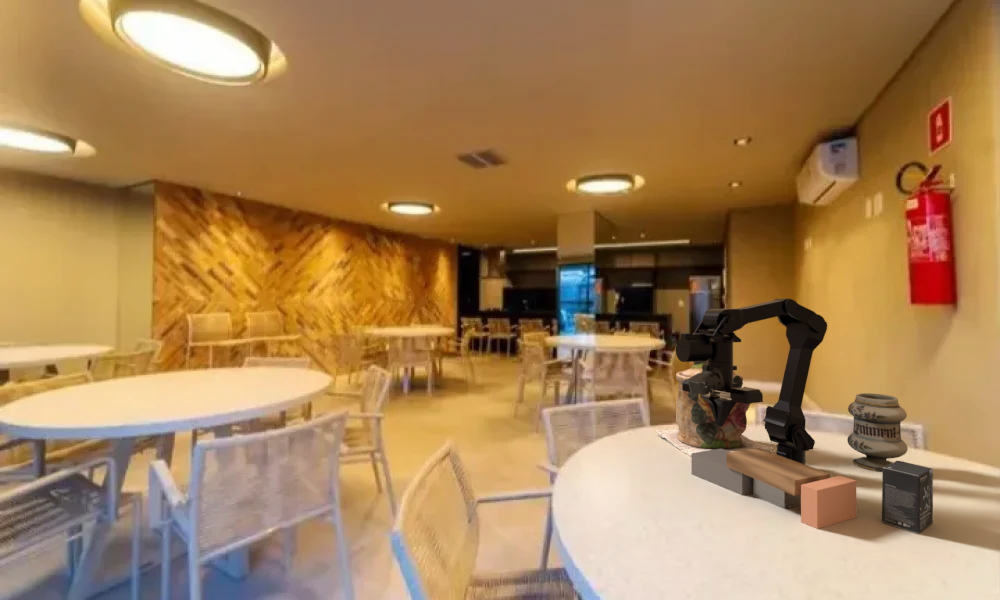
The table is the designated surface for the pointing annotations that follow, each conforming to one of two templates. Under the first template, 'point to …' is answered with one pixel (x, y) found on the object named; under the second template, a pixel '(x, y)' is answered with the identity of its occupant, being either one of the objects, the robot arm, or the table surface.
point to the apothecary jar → (876, 430)
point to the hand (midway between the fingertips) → (719, 426)
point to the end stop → (828, 501)
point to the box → (907, 496)
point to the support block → (775, 495)
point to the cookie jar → (707, 422)
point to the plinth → (720, 471)
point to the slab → (774, 469)
